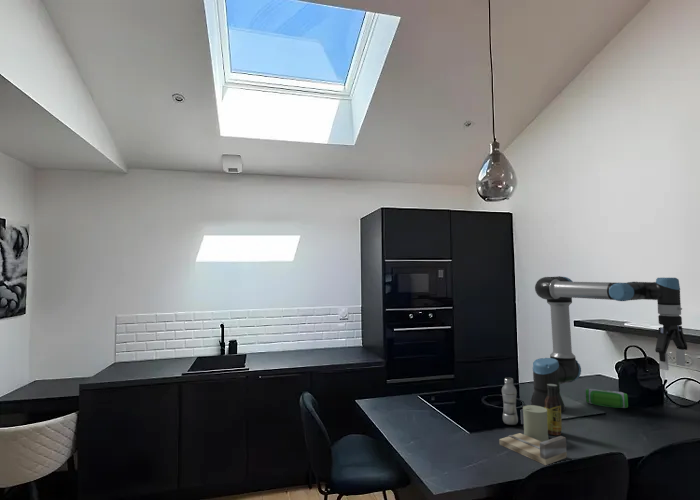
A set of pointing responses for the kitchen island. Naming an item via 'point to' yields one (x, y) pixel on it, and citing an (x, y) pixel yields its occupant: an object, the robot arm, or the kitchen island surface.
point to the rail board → (537, 447)
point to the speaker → (607, 398)
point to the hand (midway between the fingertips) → (672, 367)
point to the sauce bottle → (553, 410)
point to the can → (535, 422)
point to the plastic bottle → (509, 402)
